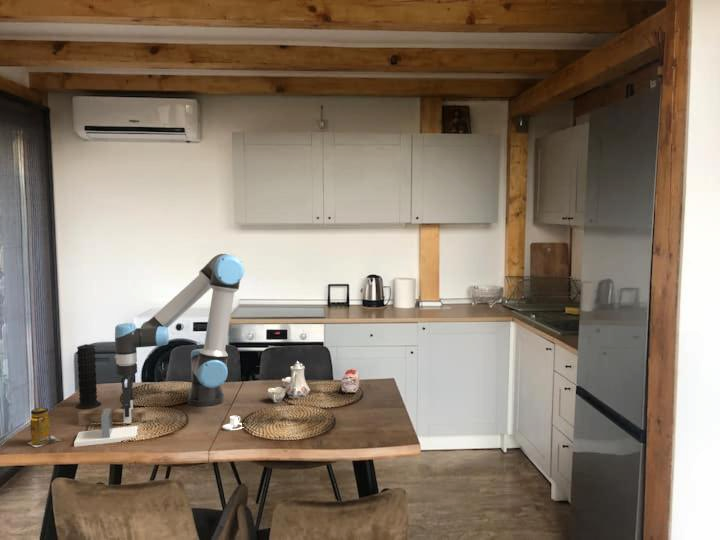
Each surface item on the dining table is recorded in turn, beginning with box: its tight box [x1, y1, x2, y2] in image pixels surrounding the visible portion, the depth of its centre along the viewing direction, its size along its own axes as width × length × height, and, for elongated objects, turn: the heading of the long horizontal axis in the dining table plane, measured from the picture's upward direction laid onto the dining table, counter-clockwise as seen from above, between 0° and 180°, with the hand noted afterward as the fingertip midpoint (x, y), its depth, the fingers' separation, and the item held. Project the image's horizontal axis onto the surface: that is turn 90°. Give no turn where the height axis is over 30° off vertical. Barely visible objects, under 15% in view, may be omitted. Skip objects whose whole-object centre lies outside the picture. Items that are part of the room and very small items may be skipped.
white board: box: [73, 425, 139, 448], centre depth 209 cm, size 20×11×2 cm, turn 107°
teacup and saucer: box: [222, 415, 244, 431], centre depth 220 cm, size 9×8×4 cm
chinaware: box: [266, 360, 311, 403], centre depth 259 cm, size 28×17×17 cm, turn 172°
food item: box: [340, 368, 360, 392], centre depth 267 cm, size 14×8×10 cm, turn 177°
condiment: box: [27, 407, 60, 448], centre depth 205 cm, size 7×8×12 cm
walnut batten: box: [77, 408, 146, 426], centre depth 225 cm, size 24×4×5 cm, turn 92°
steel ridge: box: [100, 407, 113, 439], centre depth 209 cm, size 2×9×8 cm, turn 18°
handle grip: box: [75, 343, 102, 410], centre depth 246 cm, size 10×26×10 cm
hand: (128, 420), depth 227 cm, fingers open, 9 cm apart
